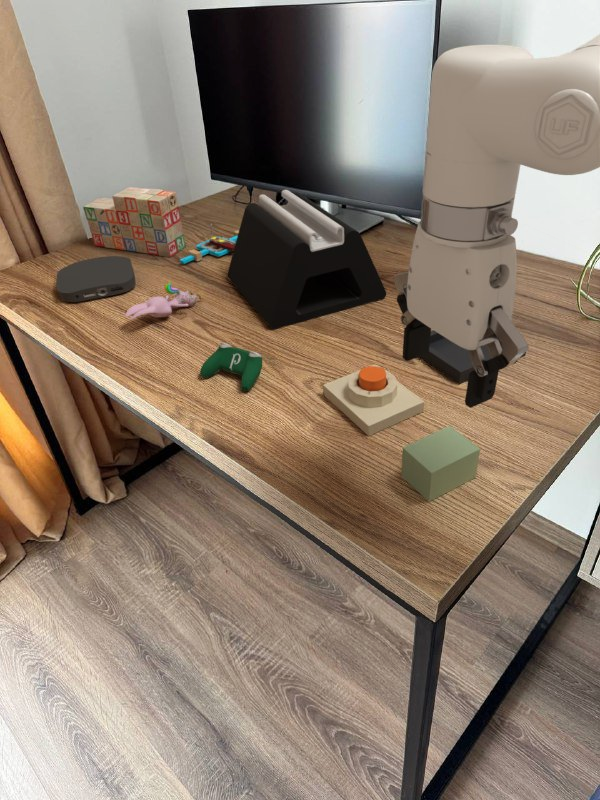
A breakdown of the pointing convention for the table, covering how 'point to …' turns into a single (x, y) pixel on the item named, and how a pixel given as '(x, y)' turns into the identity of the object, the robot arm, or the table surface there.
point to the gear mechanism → (212, 247)
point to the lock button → (372, 378)
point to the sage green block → (439, 462)
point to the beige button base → (373, 402)
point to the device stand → (300, 262)
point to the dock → (452, 357)
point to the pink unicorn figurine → (164, 303)
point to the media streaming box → (95, 278)
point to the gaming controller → (234, 364)
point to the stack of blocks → (137, 221)
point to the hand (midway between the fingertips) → (445, 377)
